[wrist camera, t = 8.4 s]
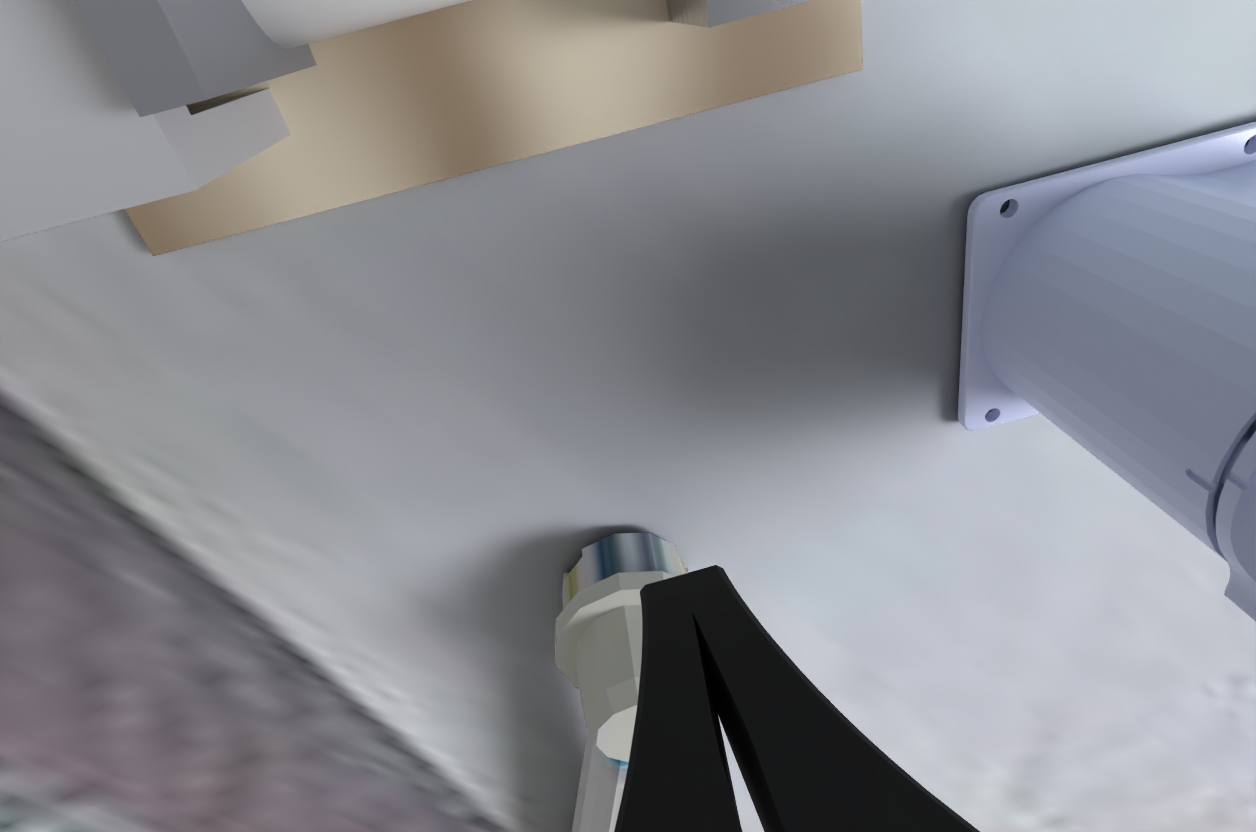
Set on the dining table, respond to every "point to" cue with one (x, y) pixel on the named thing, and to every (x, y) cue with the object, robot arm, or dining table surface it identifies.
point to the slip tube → (222, 41)
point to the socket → (101, 127)
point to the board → (493, 98)
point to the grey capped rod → (608, 659)
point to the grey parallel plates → (721, 10)
